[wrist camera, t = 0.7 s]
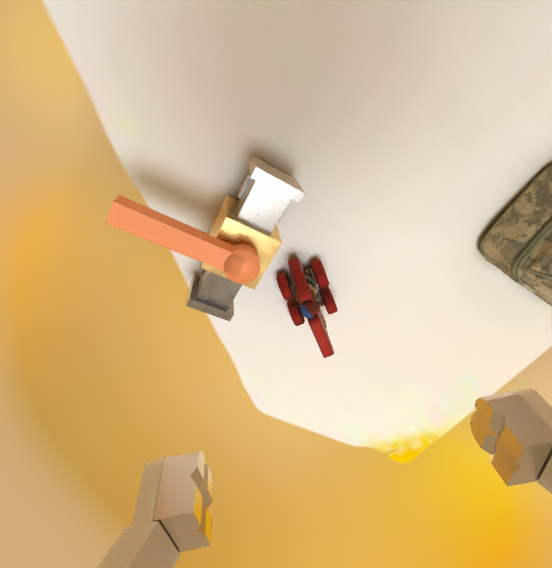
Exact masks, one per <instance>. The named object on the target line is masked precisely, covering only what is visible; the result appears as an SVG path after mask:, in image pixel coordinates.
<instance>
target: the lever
mask: <svg viewBox="0 0 552 568" xmlns="http://www.w3.org/2000/svg"><path fill="white" fill-rule="evenodd" d="M106 223H107V224H110V225H112V226H114V227H117V228H119V229H122V230H124V231H127V232H129V233H132V234H134V235H137V236H139V237H142V238H144V239H147V240H149V241H151V242H154V243H156V244H159V245H161V246H164V247H166V248H169V249H171V250H173V251H176V252H178V253H181V254H183V255H186V256H188V257H191V258H193V259H196V260H198V261H200V262H203V263H205V264H208V265H210V266H213V267H215V268H218V269H220V270H223V271H224V273H225V275H226V276H227V277H228V279H230V280H231V281H233V282H235V283H240V284H243V283H248V282H251V281H253V280H254V279H255V278H256V277H257V276H258V274H259V272H260V261H259V255H258V253H257V251H256V250H255V249H254V248H252V247H251V246H249V245H245V244H238V245H235V246H234V245H232V244H229V243H227V242H225V241H223V240H220V239H218V238H216V237H213V236H211V235H209V234H207V233H204V232H202V231H200V230H197V229H195V228H193V227H191V226H188V225H186V224H184V223H182V222H179V221H177V220H175V219H172V218H170V217H168V216H166V215H163V214H161V213H159V212H157V211H154V210H152V209H150V208H147V207H145V206H143V205H141V204H138V203H136V202H134V201H131V200H129V199H127V198H125V197H122V196H120V195H119V196H118V197H117V198H116V199H115V200H114V201H113V204H112V207H111V210H110V213H109V216H108V219H107V222H106Z"/></svg>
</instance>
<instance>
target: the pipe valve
mask: <svg viewBox="0 0 552 568" xmlns="http://www.w3.org/2000/svg"><path fill="white" fill-rule="evenodd" d="M248 166H249V171H247V173H246V175H245V178H244V180H243V182H242V184H241V186H240V188H239V190H238V198H240V199H239V201H238V200H236V199H234V198H232V197H230V196H228V195H227V196H226V198H225V200H224V202H223V205H222V207H221V209H220V211H219V213H218V215H217V217H216V219H215V221H214V223H213V225H212V227H211V229H210V232H209V235H211V236H213V237H216V238H218V239H220V240H223V241H225V242H227V243H229V244H232V245H234V246H235V245H238V244H245V245H249V246H251V247H252V248H254V249H255V250H256V251H257V253H258V255H259V261H260V272H259V274H258V276H257V277H256V278H255V279H254V280H253V281H251V282H248V283H243V284H240V283H235V282H233V281H231V280H230V279H228V277H227V276H226V275H225V273H224V271H223V270H220V269H218V268H215V267H213V266H210V265H208V264H205V263H203V262H202V265H201V268H200V275H201V277H199V276H196V275H194V276H193V278H192V280H191V284H190V289H189V295H188V300H187V306H188V307H191V308H194V309H197V310H200V311H202V312H205V313H208V314H211V315H214V316H216V317H219V318H222V319H225V320H228V321H230V320H231V318H232V317H233V315H234V305H233V299H234V298H235V296H236V294H237V292H238V291H239V289H240V287H241V285H245V286H247V287H250V288H252V289H255V287H256V286H257V284H258V282H259V281H260V279H261V277H262V276H263V274H264V272H265V271H266V269H267V267H268V266H269V264H270V262H271V260H272V259H273V257H274V255H275V254H276V252H277V250H278V249H279V247H280V245H281V244H282V242H281V238H280V235H279V232H278V228H277V225H276V224H277V223H278V221H279V219H280V217H281V216H282V214H283V212H284V210H285V209H286V207H287V205H288V203H289V202H290V200H291V199H293V200H295V201H297V202H300V201H301V199H302V197H303V195H304V194H305V193H304V191H303V190H302V188H301V186H300V185H299V183H298V182H297V180H296V179H295V178H293V177H291V176H290V175H288V174H286V173H284V172H282V171H280V170H279V169H277V168H275V167H273V166H271V165H270V164H268V163H266V162H264V161H262V160H260V159H259V158H257V157H255V156H252V158H251V160H250V162H249V164H248Z"/></svg>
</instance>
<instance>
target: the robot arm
mask: <svg viewBox="0 0 552 568" xmlns="http://www.w3.org/2000/svg"><path fill="white" fill-rule="evenodd" d="M475 407H476V409H477V411H476V412H475V413H474V414H473V415H472V417H471V423H470V424H471V429H472V433H473V435H474V437H475V439H476V441H477V443H478V444H479V446H480V447H481V448H482V449H483V450H485V451H486V452H488V453H490V454H491V463H492V465H493V466H494V468H495V469H496V471H497V472H498V473H499V475H500V476H501V478H502V479H503V481H504V482H505V484H506V485H507V486H511V485H517V484H523V483H529V482H535V481H538V482H537V483H538V484H539V485H541V486H542V487H544V488H545V489H546V490H548V491H549V492H551V493H552V407H551V406H550V405H549V404H548V403H547V402H546V401H545V400H544V399H543V398H542V397H541V396H540V395H539V394H538V393H537V392H536V391H535V390H533V389H522V390H517V391H512V392H511V391H510V392H505V393H500V394H495V395H490V396H485V397H481V398H479V399H477V400H476V402H475ZM204 463H205V457H204V455H203V452H202V451H198V452H192V453H187V454H181V455H176V456H171V457H163V458H158V459H153V460H148V461H147V463H146V465H145V467H144V470H143V475H142V480H141V484H140V489H139V493H138V498H137V503H136V508H135V512H134V516H133V521H132V526H128V527H126V528H125V529H124V530H123V532H122V533H121V535H120V536H119V537H118V539H117V540H116V542H115V543H114V544H113V546H112V547H111V548H110V550H109V551H108V553H107V554H106V555H105V557H104V558H103V559H102V561H101V562H100V564H99V565H98V566H97V568H174V566H175V564H176V562H177V560H178V558H179V556H180V552H184V551H188V550H193V549H197V548H201V547H206V546H210V545H211V528H212V517H211V515H210V513H209V510H208V507H209V506H210V504H211V502H212V501H213V485H212V477H211V472H210V469H209V466H207V465H205V464H204Z"/></svg>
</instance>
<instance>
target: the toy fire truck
mask: <svg viewBox="0 0 552 568" xmlns="http://www.w3.org/2000/svg"><path fill="white" fill-rule="evenodd" d="M288 263H289V267H290V272H291V275H292V278H293V280H291V281H290V280H289V278H288V276H287V274H286V273H281V274H279V275H277V282H278V285H279V288H280V291H281V293H282V295H283V298H284V299H285V300H290V299H292V298H294V295H295V299H292V300H290V301H288V302H287V306H288V309H289V313H290V315H291V318H292V320H293V322H294V324H295V325H296V326H299V325H301V324H303V323H304V321H305V320H304V317H306V318H307V319H308V322H309V325H310V327H311V329H312V332H313V334H314V336H315V338H316V341H317V343H318V345H319V348H320V350H321V352H322V354H323V357H324V358H326V357H329V356H331V355H333V354H334V351H333V348H332V345H331V342H330V339H329V336H328V333H327V330H326V322H325V320H324V317H323V315H322V312H321V310H320V308H319V307H320V306H323V305H325V307H326V309H327V312H328V314H332V313H335V312H337V307H336V304H335V301H334V299H333V296H332V294H331V291H330V289H329V288H328V287H326V286H328V285H329V282H328V279H327V276H326V273H325V271H324V268H323V265H322V263H321V261H320V260H319V259H318V260H315V261H312V262H311V263H310V265H311V268H308V269H307V270H305V271H304V270H303V268H302V265H301V263H300V260H299V259H298V258H296V259H293V260H290V261H288ZM316 284H318V286H319V287H320V288H323V287H325V288H323V289H320V294H321V297H322V300H319V301H316V300H315V299H316V295H317V294H316ZM298 303H300V304H301V305H302V307H300V306H299V304H298ZM303 316H304V317H303Z"/></svg>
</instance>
